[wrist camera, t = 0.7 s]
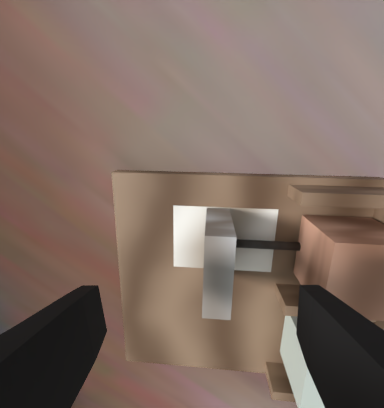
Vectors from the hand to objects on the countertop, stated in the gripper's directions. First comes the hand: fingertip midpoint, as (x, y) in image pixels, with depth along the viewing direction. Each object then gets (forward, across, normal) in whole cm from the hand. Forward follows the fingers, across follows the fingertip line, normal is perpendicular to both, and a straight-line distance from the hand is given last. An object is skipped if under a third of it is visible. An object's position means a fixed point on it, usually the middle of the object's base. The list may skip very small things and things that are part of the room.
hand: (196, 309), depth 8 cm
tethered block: (+9, -6, +2) cm, 11 cm away
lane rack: (+10, -2, +5) cm, 12 cm away
